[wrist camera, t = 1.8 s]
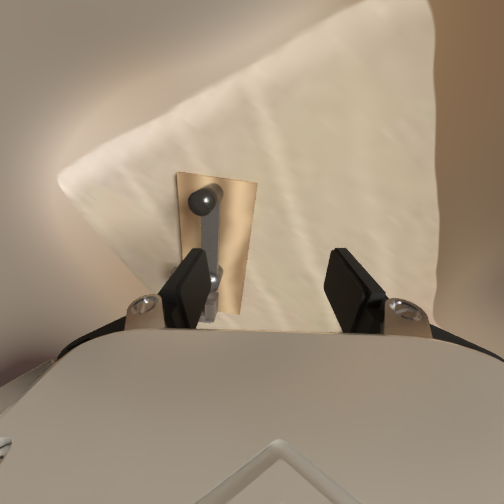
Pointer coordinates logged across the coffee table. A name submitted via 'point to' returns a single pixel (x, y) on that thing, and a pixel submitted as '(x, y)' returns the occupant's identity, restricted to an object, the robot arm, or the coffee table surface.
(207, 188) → the lever
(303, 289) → the coffee table surface
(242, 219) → the tan wooden panel
